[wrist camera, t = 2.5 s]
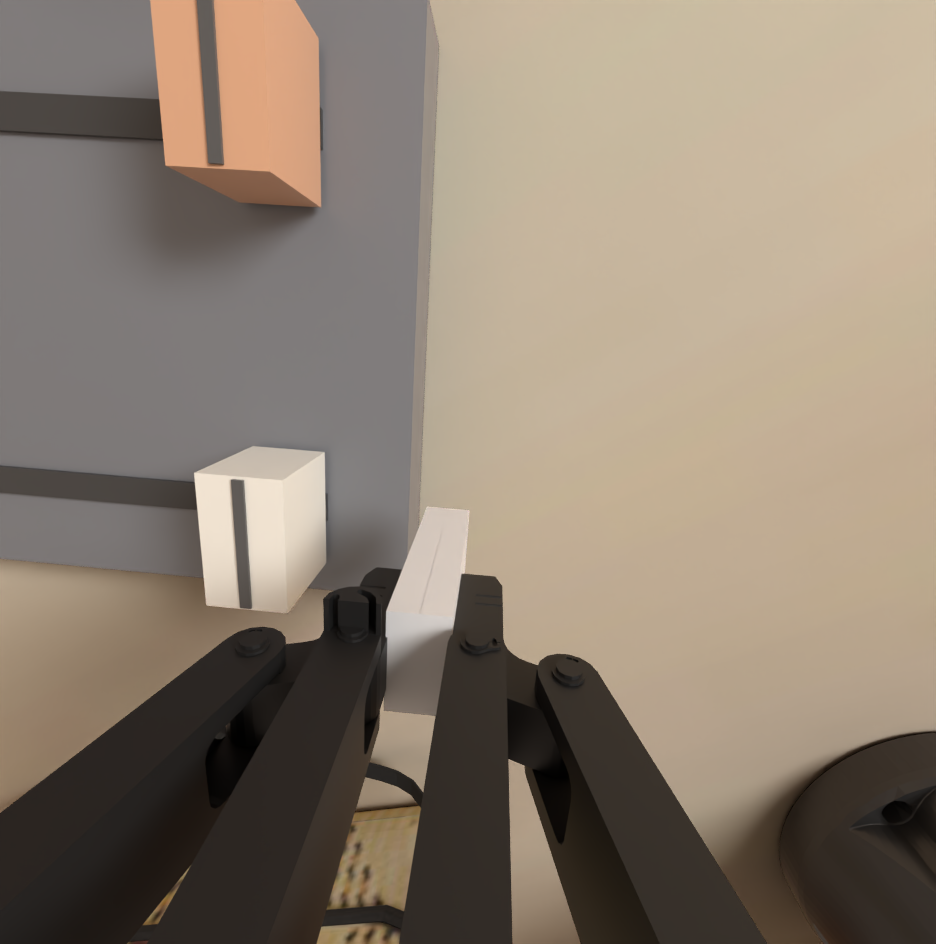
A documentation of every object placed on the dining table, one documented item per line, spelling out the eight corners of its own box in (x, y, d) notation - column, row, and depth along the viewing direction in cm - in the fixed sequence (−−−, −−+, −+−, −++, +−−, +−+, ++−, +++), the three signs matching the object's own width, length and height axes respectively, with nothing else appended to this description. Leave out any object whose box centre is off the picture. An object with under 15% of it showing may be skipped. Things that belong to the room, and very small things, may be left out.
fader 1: (321, 207, 17) (268, 170, 13) (239, 202, 17) (163, 164, 14) (318, 38, 16) (258, -59, 12) (229, 34, 16) (141, -63, 12)
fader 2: (326, 563, 21) (286, 614, 17) (259, 556, 21) (204, 606, 17) (324, 451, 20) (281, 481, 16) (253, 445, 20) (192, 473, 16)
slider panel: (416, 566, 25) (404, 599, 22) (-69, 521, 26) (-145, 547, 23) (439, 45, 19) (426, -12, 15) (-198, 17, 20) (-327, -42, 17)
